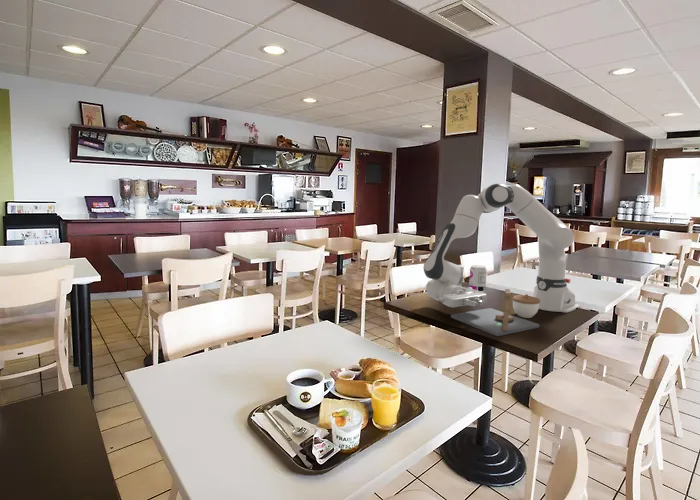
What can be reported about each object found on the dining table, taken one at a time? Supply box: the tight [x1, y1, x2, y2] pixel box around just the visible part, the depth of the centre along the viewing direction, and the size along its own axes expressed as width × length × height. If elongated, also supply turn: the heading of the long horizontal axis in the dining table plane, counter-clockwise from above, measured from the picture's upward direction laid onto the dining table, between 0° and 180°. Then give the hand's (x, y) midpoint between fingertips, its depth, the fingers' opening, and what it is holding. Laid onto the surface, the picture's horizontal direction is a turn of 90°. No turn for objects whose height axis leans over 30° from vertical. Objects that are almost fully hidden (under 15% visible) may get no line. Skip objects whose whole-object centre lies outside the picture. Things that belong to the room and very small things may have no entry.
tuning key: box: [496, 288, 514, 331], centre depth 159 cm, size 18×7×14 cm, turn 160°
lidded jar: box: [512, 293, 540, 319], centre depth 175 cm, size 11×11×9 cm
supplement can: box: [468, 264, 488, 294], centre depth 209 cm, size 8×8×15 cm
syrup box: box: [457, 264, 464, 287], centre depth 214 cm, size 6×6×14 cm
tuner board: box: [450, 307, 540, 337], centre depth 166 cm, size 23×25×3 cm
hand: (478, 303), depth 163 cm, fingers closed
